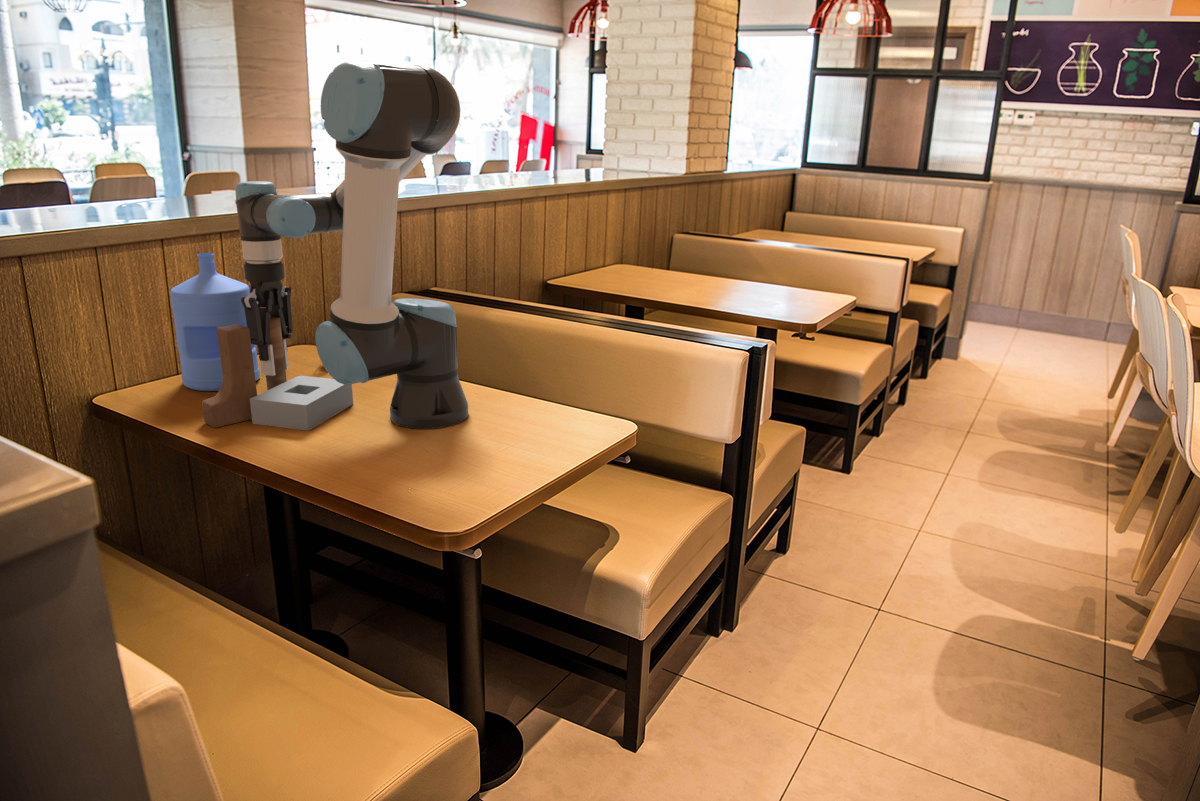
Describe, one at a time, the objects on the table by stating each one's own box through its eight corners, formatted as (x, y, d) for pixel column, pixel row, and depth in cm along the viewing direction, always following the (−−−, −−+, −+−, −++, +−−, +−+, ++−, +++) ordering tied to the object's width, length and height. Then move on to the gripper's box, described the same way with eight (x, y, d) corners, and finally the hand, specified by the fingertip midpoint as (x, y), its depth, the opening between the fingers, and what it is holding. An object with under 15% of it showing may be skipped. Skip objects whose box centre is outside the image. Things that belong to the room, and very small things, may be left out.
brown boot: (214, 429, 154) (201, 335, 148) (203, 423, 157) (190, 331, 151) (260, 417, 161) (250, 327, 155) (250, 412, 163) (239, 323, 158)
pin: (291, 390, 177) (284, 317, 172) (280, 396, 173) (272, 321, 168) (275, 388, 178) (267, 315, 173) (263, 394, 174) (255, 320, 169)
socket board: (301, 398, 172) (299, 375, 170) (353, 404, 169) (351, 380, 168) (252, 423, 157) (249, 398, 156) (308, 430, 154) (305, 405, 153)
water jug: (173, 379, 182) (153, 252, 173) (245, 367, 192) (230, 246, 183) (196, 397, 171) (177, 262, 162) (271, 383, 181) (257, 255, 172)
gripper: (272, 253, 175) (284, 359, 183) (218, 265, 159) (233, 381, 167) (304, 255, 173) (314, 362, 181) (252, 268, 158) (266, 384, 165)
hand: (275, 371), depth 174 cm, fingers closed on pin, 4 cm apart
